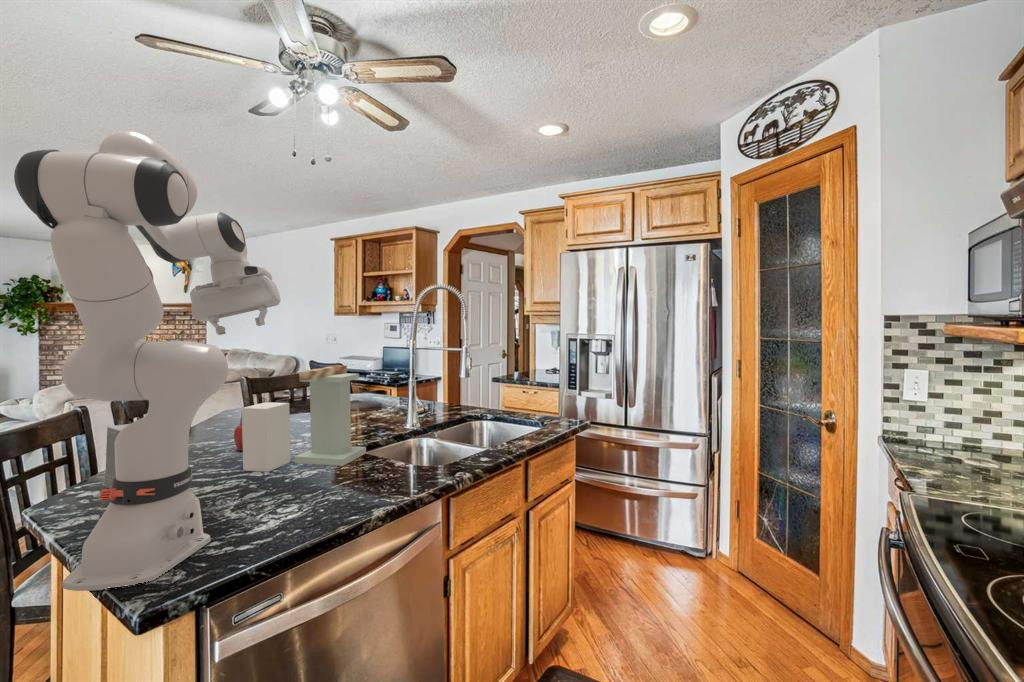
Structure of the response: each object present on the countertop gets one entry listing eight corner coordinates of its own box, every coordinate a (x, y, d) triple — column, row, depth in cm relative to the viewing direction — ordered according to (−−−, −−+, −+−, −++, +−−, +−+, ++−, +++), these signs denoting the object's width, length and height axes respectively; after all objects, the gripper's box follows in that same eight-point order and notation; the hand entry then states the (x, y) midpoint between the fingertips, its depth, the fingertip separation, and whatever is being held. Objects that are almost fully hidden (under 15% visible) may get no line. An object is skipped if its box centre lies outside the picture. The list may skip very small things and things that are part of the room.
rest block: (268, 471, 137) (266, 408, 136) (243, 470, 138) (241, 408, 137) (290, 461, 146) (289, 402, 146) (267, 460, 148) (265, 402, 147)
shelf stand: (343, 465, 142) (341, 378, 141) (294, 463, 145) (292, 377, 144) (366, 453, 156) (364, 373, 155) (321, 450, 159) (319, 372, 158)
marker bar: (309, 380, 136) (309, 372, 136) (296, 380, 136) (296, 371, 136) (346, 372, 155) (346, 365, 155) (335, 372, 156) (335, 365, 156)
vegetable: (236, 446, 164) (235, 417, 164) (270, 443, 168) (269, 415, 168) (232, 455, 154) (232, 424, 154) (268, 451, 159) (268, 421, 158)
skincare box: (104, 488, 124) (101, 427, 123) (136, 480, 130) (134, 421, 129) (120, 493, 120) (118, 430, 119) (153, 484, 126) (151, 424, 125)
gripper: (182, 283, 118) (189, 336, 115) (268, 265, 121) (277, 316, 118) (196, 291, 124) (203, 342, 122) (277, 274, 127) (287, 323, 124)
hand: (241, 329), depth 120 cm, fingers open, 8 cm apart
